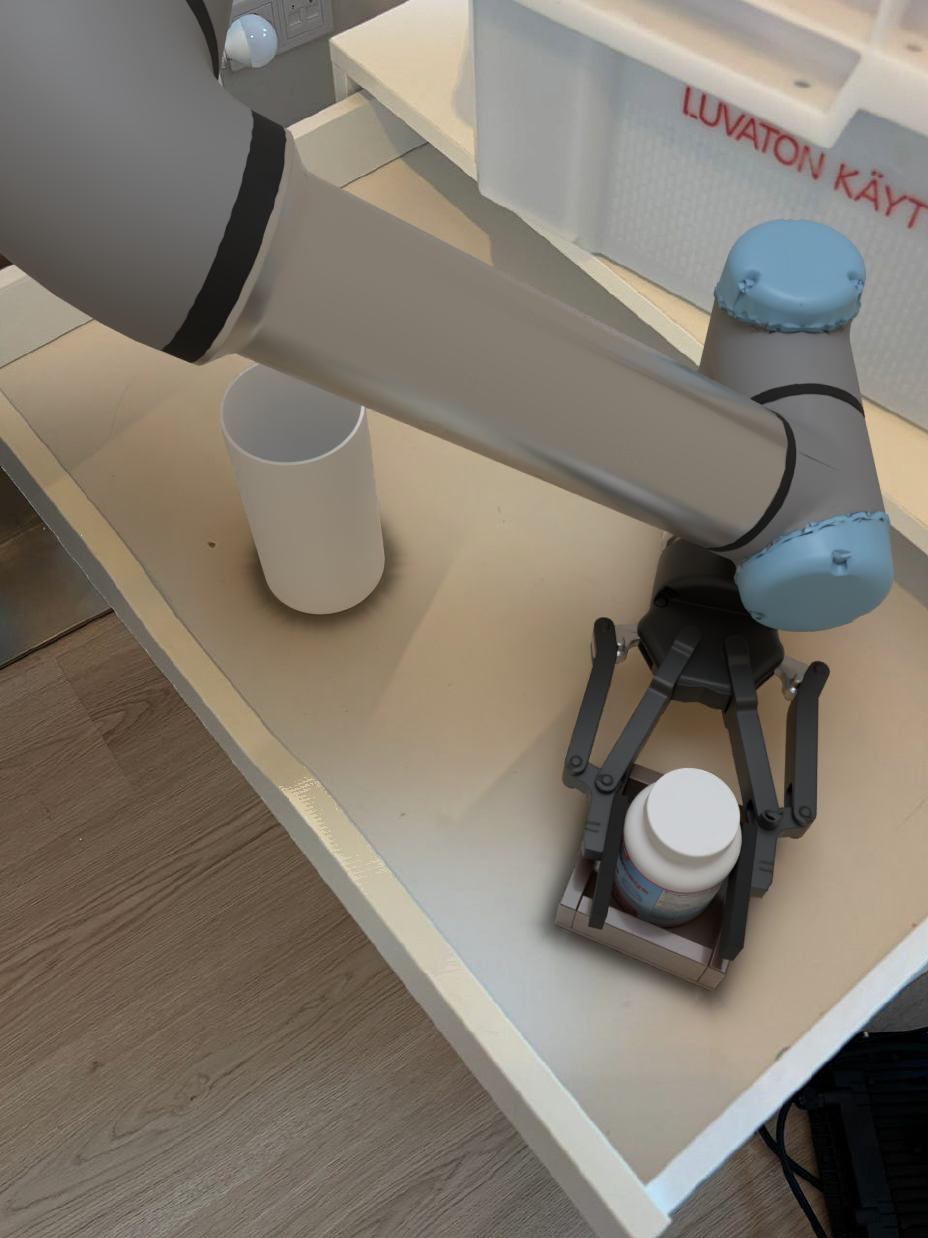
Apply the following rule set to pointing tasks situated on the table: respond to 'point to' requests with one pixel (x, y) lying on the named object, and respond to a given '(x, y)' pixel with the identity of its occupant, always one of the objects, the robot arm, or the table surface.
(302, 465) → the cup
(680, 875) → the pill bottle
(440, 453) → the table surface
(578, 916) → the brown square shallow tray
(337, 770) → the table surface
